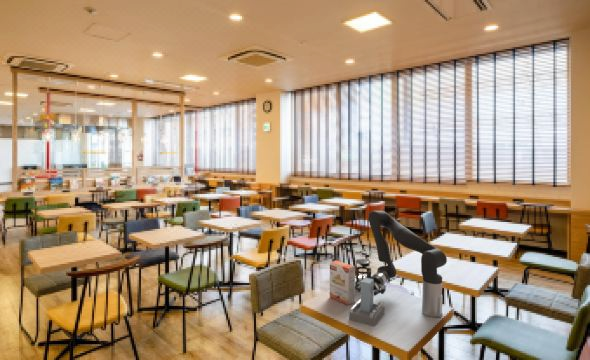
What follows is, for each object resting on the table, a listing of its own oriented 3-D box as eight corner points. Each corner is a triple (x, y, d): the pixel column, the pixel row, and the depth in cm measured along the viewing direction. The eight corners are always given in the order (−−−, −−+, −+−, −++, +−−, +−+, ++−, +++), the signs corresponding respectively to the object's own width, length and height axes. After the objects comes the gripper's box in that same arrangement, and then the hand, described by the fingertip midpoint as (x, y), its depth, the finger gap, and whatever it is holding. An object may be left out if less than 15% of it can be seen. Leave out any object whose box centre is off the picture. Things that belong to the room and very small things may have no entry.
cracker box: (329, 297, 200) (329, 262, 198) (336, 294, 204) (336, 259, 202) (348, 305, 190) (348, 268, 188) (355, 302, 194) (355, 265, 192)
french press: (361, 292, 206) (362, 255, 204) (350, 287, 214) (350, 251, 212) (375, 288, 213) (376, 251, 210) (364, 283, 220) (364, 247, 218)
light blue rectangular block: (373, 307, 179) (373, 279, 177) (369, 312, 173) (369, 283, 172) (364, 305, 181) (365, 277, 179) (360, 310, 176) (360, 281, 174)
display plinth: (384, 313, 180) (384, 302, 180) (374, 326, 168) (374, 314, 167) (360, 307, 187) (360, 296, 187) (349, 319, 175) (349, 308, 174)
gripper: (364, 272, 192) (353, 281, 178) (390, 277, 184) (380, 287, 171) (364, 285, 193) (352, 296, 179) (390, 290, 185) (379, 302, 172)
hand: (366, 291), depth 175 cm, fingers open, 8 cm apart
